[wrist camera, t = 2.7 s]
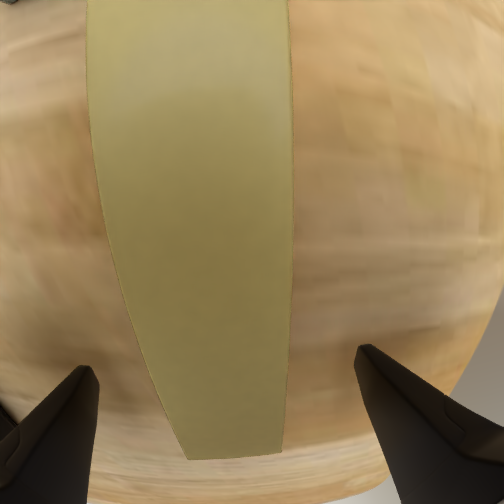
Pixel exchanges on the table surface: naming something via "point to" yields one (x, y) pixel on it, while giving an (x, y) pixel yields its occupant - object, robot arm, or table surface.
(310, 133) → the table surface
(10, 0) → the butter dish
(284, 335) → the butter
